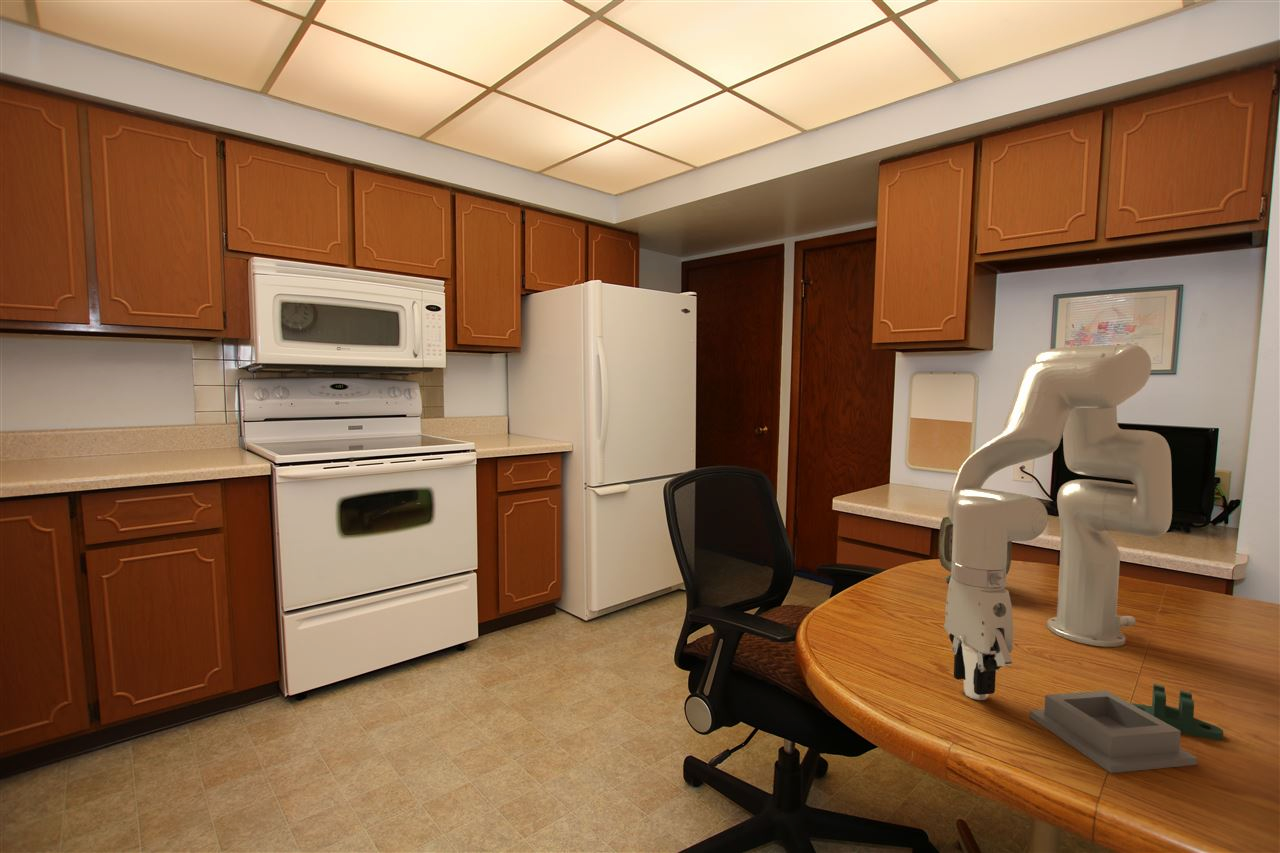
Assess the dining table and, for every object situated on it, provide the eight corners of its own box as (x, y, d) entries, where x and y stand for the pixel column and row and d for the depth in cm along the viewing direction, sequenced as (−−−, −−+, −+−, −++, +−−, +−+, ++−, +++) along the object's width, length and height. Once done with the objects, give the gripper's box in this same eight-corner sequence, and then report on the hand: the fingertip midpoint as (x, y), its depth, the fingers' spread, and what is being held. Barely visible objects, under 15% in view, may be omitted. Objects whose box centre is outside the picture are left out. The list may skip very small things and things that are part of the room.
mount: (1220, 732, 84) (1222, 699, 84) (1225, 746, 81) (1227, 712, 80) (1122, 706, 91) (1124, 675, 91) (1123, 718, 88) (1125, 686, 87)
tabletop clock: (937, 580, 151) (941, 485, 149) (966, 578, 153) (970, 484, 151) (982, 600, 137) (987, 495, 135) (1013, 597, 139) (1018, 494, 137)
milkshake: (948, 688, 95) (951, 630, 95) (979, 687, 96) (982, 628, 95) (966, 703, 91) (969, 642, 90) (998, 702, 91) (1001, 641, 91)
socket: (1104, 710, 89) (1106, 685, 89) (1196, 764, 76) (1198, 735, 76) (1029, 716, 87) (1031, 691, 87) (1110, 773, 75) (1112, 743, 74)
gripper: (1042, 591, 84) (1036, 712, 85) (963, 558, 101) (959, 660, 102) (996, 594, 83) (990, 716, 84) (923, 560, 100) (920, 662, 101)
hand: (973, 684), depth 93 cm, fingers closed on milkshake, 4 cm apart
